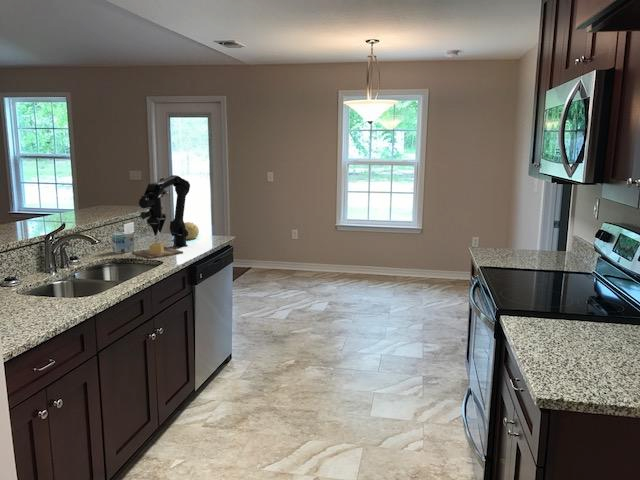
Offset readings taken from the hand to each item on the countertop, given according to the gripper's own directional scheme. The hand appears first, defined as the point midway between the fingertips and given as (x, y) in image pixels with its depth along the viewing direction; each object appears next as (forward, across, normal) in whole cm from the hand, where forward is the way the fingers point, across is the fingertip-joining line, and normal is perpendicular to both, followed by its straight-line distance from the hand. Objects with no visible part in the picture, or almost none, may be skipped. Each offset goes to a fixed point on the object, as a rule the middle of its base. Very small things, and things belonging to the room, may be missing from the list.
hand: (157, 233), depth 287 cm
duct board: (+11, +2, 0) cm, 11 cm away
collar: (+10, +6, 0) cm, 11 cm away
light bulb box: (+11, -3, -20) cm, 23 cm away
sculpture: (+12, -43, +8) cm, 46 cm away
